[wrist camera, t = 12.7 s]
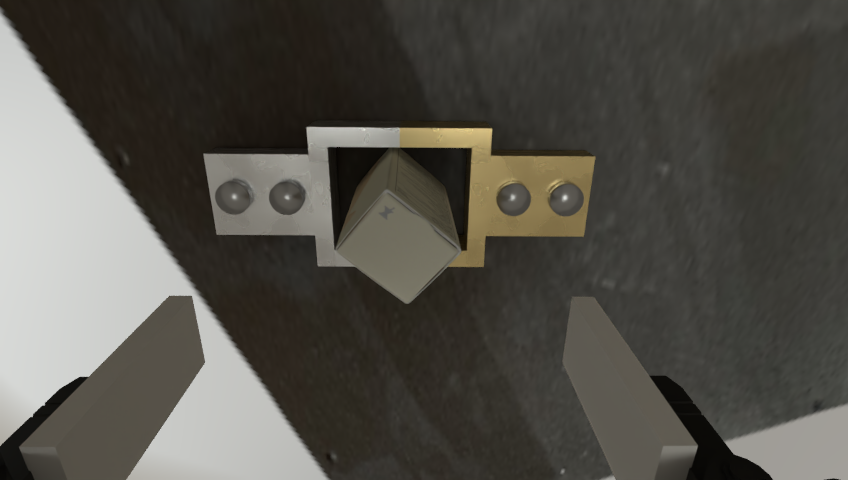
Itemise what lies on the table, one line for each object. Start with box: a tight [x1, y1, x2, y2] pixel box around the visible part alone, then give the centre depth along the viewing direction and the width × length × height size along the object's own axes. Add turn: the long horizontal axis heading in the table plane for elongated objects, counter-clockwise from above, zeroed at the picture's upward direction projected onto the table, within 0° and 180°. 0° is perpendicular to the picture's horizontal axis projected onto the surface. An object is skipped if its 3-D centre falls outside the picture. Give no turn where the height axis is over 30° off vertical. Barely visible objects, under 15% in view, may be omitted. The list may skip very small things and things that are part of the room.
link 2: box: [400, 121, 595, 267], centre depth 32 cm, size 13×9×3 cm
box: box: [336, 147, 461, 304], centre depth 29 cm, size 5×4×11 cm
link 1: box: [203, 120, 401, 266], centre depth 32 cm, size 13×9×3 cm
